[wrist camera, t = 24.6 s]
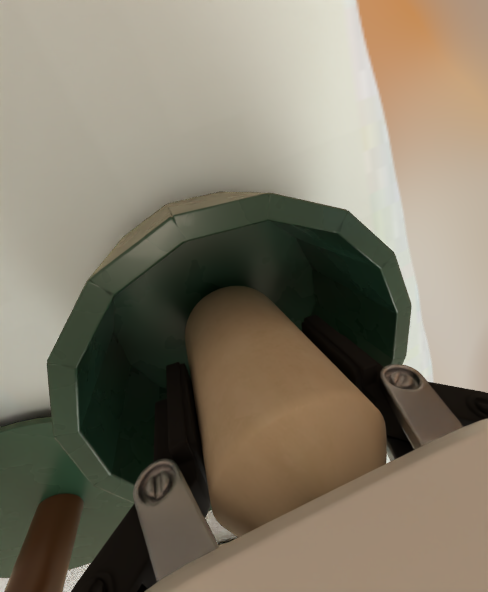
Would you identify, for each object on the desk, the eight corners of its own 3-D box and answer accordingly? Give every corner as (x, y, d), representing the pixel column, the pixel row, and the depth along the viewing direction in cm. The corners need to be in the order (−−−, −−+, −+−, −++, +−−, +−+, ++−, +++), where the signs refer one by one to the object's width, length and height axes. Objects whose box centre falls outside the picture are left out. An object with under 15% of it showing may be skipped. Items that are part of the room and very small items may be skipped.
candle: (255, 372, 17) (364, 582, 8) (171, 361, 14) (188, 632, 6) (289, 297, 15) (470, 448, 6) (202, 272, 13) (289, 447, 4)
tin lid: (197, 500, 23) (208, 592, 18) (11, 585, 21) (-42, 724, 15) (133, 374, 17) (120, 461, 11) (-156, 474, 14) (-357, 654, 8)
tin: (324, 359, 21) (397, 434, 15) (151, 425, 19) (146, 554, 12) (312, 170, 15) (428, 154, 9) (48, 229, 12) (-80, 274, 6)
